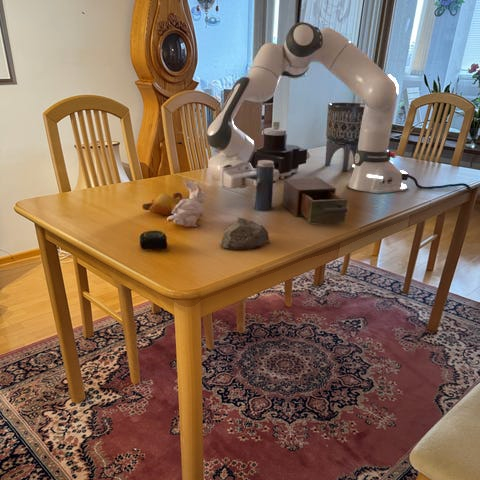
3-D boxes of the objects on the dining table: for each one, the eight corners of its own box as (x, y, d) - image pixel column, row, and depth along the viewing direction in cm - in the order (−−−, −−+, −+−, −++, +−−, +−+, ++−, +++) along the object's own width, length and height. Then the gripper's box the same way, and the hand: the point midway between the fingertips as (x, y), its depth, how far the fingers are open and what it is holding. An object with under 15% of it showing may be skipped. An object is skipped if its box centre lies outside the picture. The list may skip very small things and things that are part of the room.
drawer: (351, 227, 133) (355, 204, 130) (316, 229, 131) (318, 206, 127) (326, 209, 149) (329, 188, 145) (294, 210, 146) (296, 189, 143)
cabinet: (332, 214, 146) (336, 188, 142) (296, 216, 144) (298, 190, 139) (315, 202, 158) (318, 177, 154) (282, 204, 156) (283, 179, 151)
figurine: (213, 220, 138) (213, 178, 132) (181, 233, 128) (179, 188, 121) (193, 215, 142) (192, 174, 136) (160, 228, 132) (157, 183, 125)
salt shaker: (269, 205, 154) (271, 159, 146) (273, 210, 149) (276, 163, 142) (253, 206, 153) (254, 160, 145) (257, 211, 148) (259, 163, 140)
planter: (314, 167, 208) (320, 104, 195) (332, 161, 222) (339, 101, 209) (354, 174, 199) (364, 107, 185) (370, 166, 213) (380, 104, 199)
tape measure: (140, 253, 115) (139, 239, 113) (141, 243, 121) (140, 230, 119) (167, 252, 116) (166, 238, 114) (167, 242, 122) (166, 229, 120)
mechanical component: (240, 121, 182) (283, 115, 202) (239, 174, 193) (280, 164, 212) (283, 126, 170) (325, 120, 190) (280, 183, 181) (320, 172, 200)
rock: (254, 234, 128) (255, 211, 124) (276, 243, 122) (277, 220, 119) (217, 245, 120) (217, 221, 117) (238, 255, 115) (239, 231, 111)
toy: (137, 206, 138) (152, 192, 151) (146, 225, 141) (160, 210, 154) (170, 195, 135) (182, 182, 148) (178, 215, 138) (190, 200, 150)
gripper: (263, 179, 162) (289, 187, 153) (216, 187, 152) (241, 196, 142) (264, 161, 159) (291, 168, 150) (216, 167, 148) (241, 176, 139)
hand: (266, 182), depth 146 cm, fingers closed on salt shaker, 5 cm apart
